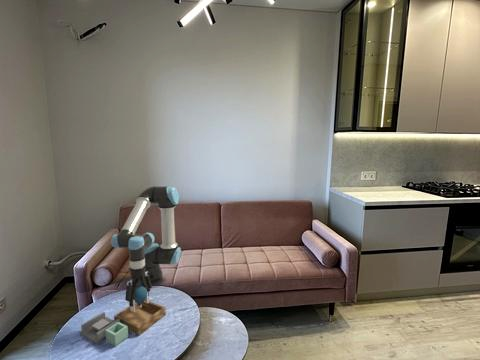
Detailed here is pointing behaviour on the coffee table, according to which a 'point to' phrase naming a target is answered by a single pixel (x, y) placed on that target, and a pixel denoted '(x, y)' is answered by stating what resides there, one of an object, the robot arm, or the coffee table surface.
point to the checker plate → (100, 324)
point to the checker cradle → (92, 333)
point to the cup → (116, 334)
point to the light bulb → (140, 295)
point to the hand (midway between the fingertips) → (139, 306)
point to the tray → (141, 317)
